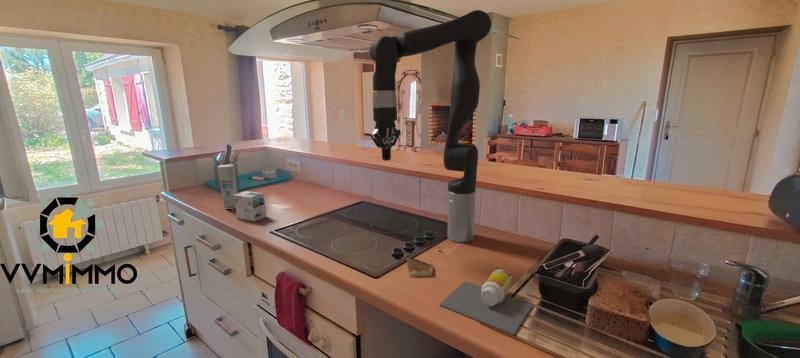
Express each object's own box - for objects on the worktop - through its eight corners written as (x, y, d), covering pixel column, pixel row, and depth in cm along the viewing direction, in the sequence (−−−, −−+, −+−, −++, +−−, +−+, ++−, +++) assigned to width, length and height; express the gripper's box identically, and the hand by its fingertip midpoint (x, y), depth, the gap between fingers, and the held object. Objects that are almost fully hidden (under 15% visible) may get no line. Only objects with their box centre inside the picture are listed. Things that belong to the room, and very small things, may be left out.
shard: (406, 260, 107) (406, 255, 106) (431, 259, 107) (431, 254, 106) (408, 278, 96) (408, 272, 96) (435, 277, 96) (435, 271, 96)
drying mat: (464, 282, 93) (464, 281, 93) (532, 305, 82) (533, 304, 82) (439, 305, 83) (439, 304, 83) (513, 335, 72) (513, 334, 72)
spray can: (239, 204, 164) (234, 163, 159) (238, 208, 158) (232, 166, 153) (224, 206, 162) (218, 165, 157) (223, 210, 156) (216, 167, 151)
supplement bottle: (488, 270, 90) (473, 288, 82) (507, 266, 87) (494, 285, 78) (497, 290, 90) (483, 310, 81) (517, 286, 86) (504, 307, 78)
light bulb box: (267, 217, 147) (264, 192, 144) (254, 222, 141) (251, 197, 138) (249, 213, 151) (245, 190, 148) (236, 218, 145) (232, 194, 143)
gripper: (389, 105, 115) (390, 156, 119) (361, 106, 105) (364, 162, 109) (407, 105, 110) (407, 158, 114) (380, 106, 100) (382, 164, 104)
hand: (386, 160), depth 112 cm, fingers closed
